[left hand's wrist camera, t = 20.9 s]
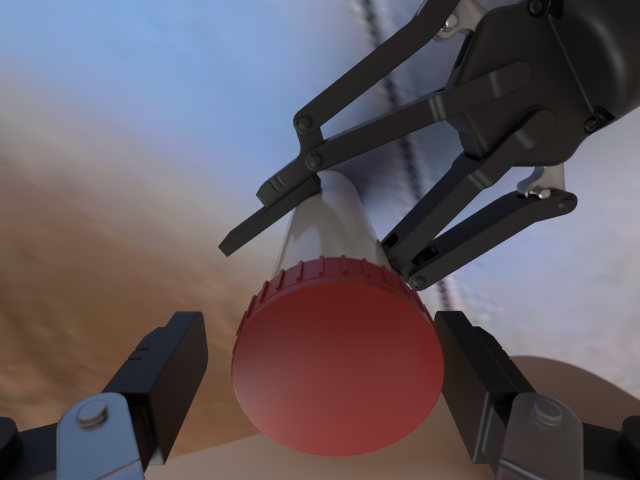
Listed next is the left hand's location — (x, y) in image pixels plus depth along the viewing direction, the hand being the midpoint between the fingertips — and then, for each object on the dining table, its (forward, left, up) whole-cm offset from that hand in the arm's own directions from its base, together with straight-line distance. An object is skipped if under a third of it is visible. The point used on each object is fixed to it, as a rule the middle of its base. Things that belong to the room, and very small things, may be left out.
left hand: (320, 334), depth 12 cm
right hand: (+3, -4, -10) cm, 11 cm away
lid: (-1, 0, +2) cm, 3 cm away
